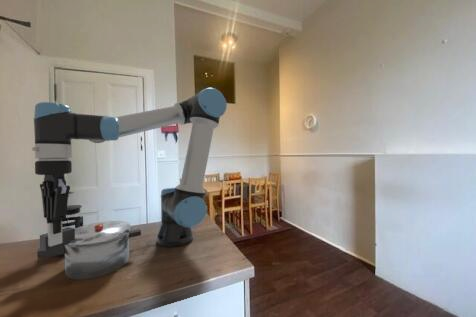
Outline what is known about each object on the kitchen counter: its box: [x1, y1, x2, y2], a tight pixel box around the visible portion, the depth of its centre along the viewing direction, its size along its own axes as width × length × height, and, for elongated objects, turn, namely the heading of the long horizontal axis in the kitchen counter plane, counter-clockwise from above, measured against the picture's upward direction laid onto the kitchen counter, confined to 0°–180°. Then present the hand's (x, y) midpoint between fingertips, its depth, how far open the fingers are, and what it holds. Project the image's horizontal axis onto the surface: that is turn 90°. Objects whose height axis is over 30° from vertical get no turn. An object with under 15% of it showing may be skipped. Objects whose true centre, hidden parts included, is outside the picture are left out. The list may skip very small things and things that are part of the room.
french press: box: [56, 191, 84, 257], centre depth 80 cm, size 12×9×23 cm
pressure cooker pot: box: [37, 228, 142, 280], centre depth 69 cm, size 28×18×10 cm, turn 127°
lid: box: [39, 220, 131, 252], centre depth 67 cm, size 24×19×5 cm
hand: (55, 244), depth 56 cm, fingers closed
